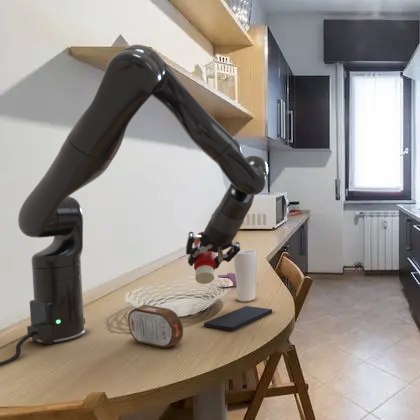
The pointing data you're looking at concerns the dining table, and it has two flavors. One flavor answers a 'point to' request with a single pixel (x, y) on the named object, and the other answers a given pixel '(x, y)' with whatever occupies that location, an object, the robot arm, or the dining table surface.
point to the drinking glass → (245, 274)
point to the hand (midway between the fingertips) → (202, 265)
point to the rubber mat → (238, 318)
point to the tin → (155, 326)
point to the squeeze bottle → (204, 266)
